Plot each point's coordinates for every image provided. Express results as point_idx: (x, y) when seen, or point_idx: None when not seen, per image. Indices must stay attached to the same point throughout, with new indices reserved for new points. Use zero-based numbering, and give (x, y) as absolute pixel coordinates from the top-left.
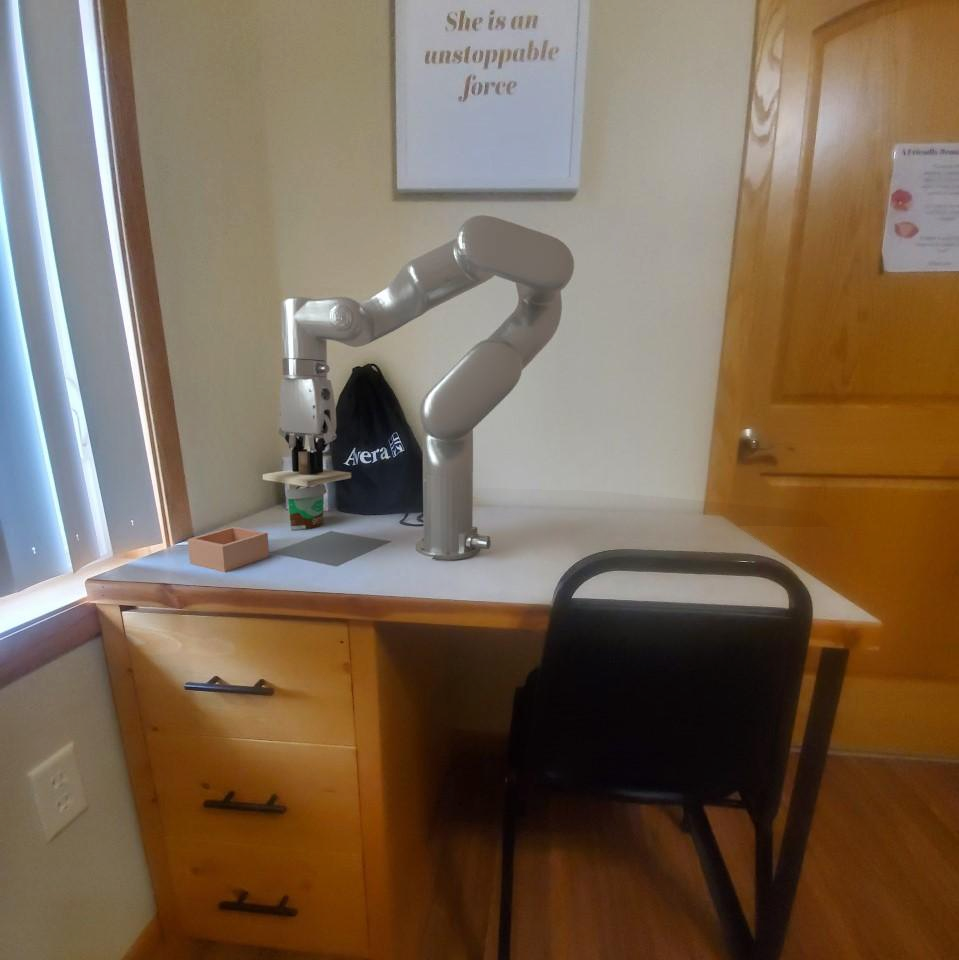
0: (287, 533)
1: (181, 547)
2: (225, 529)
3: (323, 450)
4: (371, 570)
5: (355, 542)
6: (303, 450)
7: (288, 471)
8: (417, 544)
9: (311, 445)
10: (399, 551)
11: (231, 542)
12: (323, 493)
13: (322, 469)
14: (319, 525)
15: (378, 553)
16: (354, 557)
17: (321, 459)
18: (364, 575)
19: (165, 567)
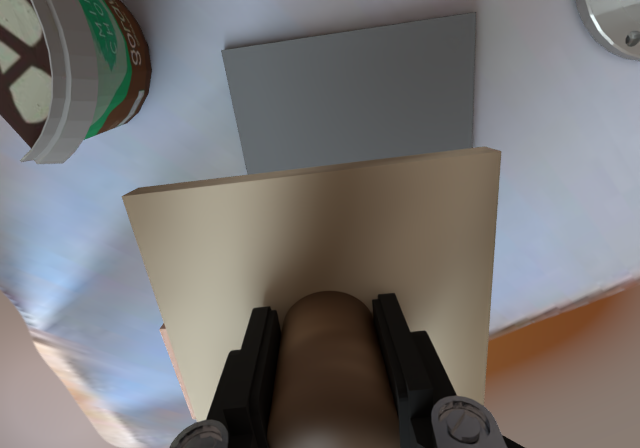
0: (121, 132)
1: (68, 332)
2: (172, 351)
3: (480, 420)
4: (540, 205)
5: (382, 93)
6: (261, 434)
7: (209, 358)
8: (596, 9)
9: None
10: (532, 55)
11: None
12: None
13: (397, 303)
14: (136, 30)
15: (485, 106)
16: None
17: (442, 373)
18: (542, 233)
19: (181, 391)
